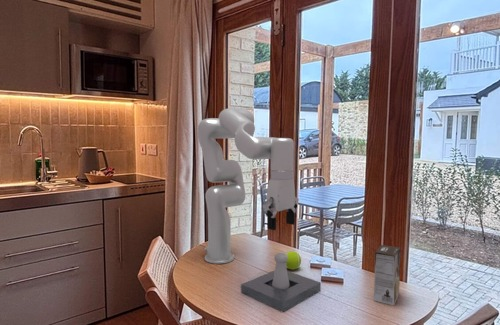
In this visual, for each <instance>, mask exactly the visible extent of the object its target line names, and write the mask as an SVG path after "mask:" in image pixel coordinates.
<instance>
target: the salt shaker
mask: <svg viewBox="0 0 500 325" xmlns="http://www.w3.org/2000/svg"><path fill="white" fill-rule="evenodd" d="M287 259H288V257H287V255H286V253H284V252H278V253H276V254H275V256H274V261H275V262H276V263H275V268H274V270H275V272H274V277H273V283H272V287H274V288H276V289H279V290H281V291H284V290H286V289H288V288H289V279H288V274H287V271H288V270H287V269H288V268H287V267H286V262H287Z"/></svg>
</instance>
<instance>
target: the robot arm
mask: <svg viewBox="0 0 500 325" xmlns="http://www.w3.org/2000/svg"><path fill="white" fill-rule="evenodd" d="M255 130H256V127H255V116H254V114H253V112H252V111H250V110H249V109H245V108H232V107H230V108H225V109H222V110H221V111H220V112H219V115H218V118H216V117H215V118H214V117H210V118H204V119H202V120H200V121H199V123H198V125H197V131H196V132H197V139H198V143H199V145H200V148H201V151H202V157H203V158H202V159H203V162H204V163H203V165H204V171H205V176H206V179H207V181H208V182H210V183H213V184H215V183H225V182H228V184H219V185H212V186H210V187H209V188H208V189H207V190H206V191H205V203H206V208H207V240H208V241H207V242H208V243H207V245H206V246H205V247H204V251H206V254H205V255H204V260H205V262H207V263H210V264H216V265H217V264H218V265H220V264H227V263H231V262H232V261H234V259H235V254H234V253H232V252H231V247H232V246H231V241H232V240H231V239H232V238H231V230H232V229H231V225H232V224H231V215H230V214H229V212H228V211H227V209H226V208H231V207H237V206H240V205H242V204H244V202H245V200H246V190H245V185H244V183H245V182H244V177H243V171H242V167H241V165H240V163H239V162H238V161H237V160H234V159H225V158H224V152H223V148H222V147H221V145H220V143H219V142H217V141H216V139H234V144H235V148H236V149H237V151H238V152H240V153H241V154H242V155H243V156H244V157H246V158H247V159H250V160H270V179H269V180H268V184H267V189H266V198H265V200H266V201H265V203H263V204H262V209H263V212H264V214H265V217H266V218H267V220H266V222H267V225H266V226H267V227H266V228H267V229H269V230H272V231H276V230H277V218H276V216H277V213H278V212H282V211H286V212H285V215H286V216H285V219H286V220H285V223H286V224H288V225H291V226H293V225H295V222H296V221H295V220H296V219H295V218H296V216H295V215H296V214H295V213H296V212H297V208H298V204H299V201H300V200H299V197H297V196H296V190H295V181H294V180H295V179H294V168H295V167H294V165H295V164H294V157H295V156H294V152H295V150H294V149H295V148H294V147H295V142H294V139H292V138H289V137H272V136H270V137H269V136H265V137H264V136H256V137H255V136H254V134H255Z"/></svg>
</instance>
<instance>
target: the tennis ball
mask: <svg viewBox="0 0 500 325" xmlns="http://www.w3.org/2000/svg"><path fill="white" fill-rule="evenodd" d="M285 254H286V255H287V257H288V259H287V262H286V268H287V269H288V270H293V271H294V270H297V269H298V268H299V267H301V265H302V257H301V256H300V254H299V253H298V252H296V251H292V250H291V251H287V252H286V253H285Z"/></svg>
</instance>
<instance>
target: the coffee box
mask: <svg viewBox="0 0 500 325" xmlns="http://www.w3.org/2000/svg"><path fill="white" fill-rule="evenodd" d="M401 250H402V248H401V247H398V246H397V247H396V246H390V245H385V244H380V245H379V246H378V248H377V249H376V250H375V251H374V282H373V283H374V286H373V287H374V288H373V301H374V302H377V303H378V302H379V303H382V304H386V305H390V306H395V305H396V303H397V300H398V298H399V296H400V285H401V284H400V279H401V277H400V276H401V274H400V273H401Z"/></svg>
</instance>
